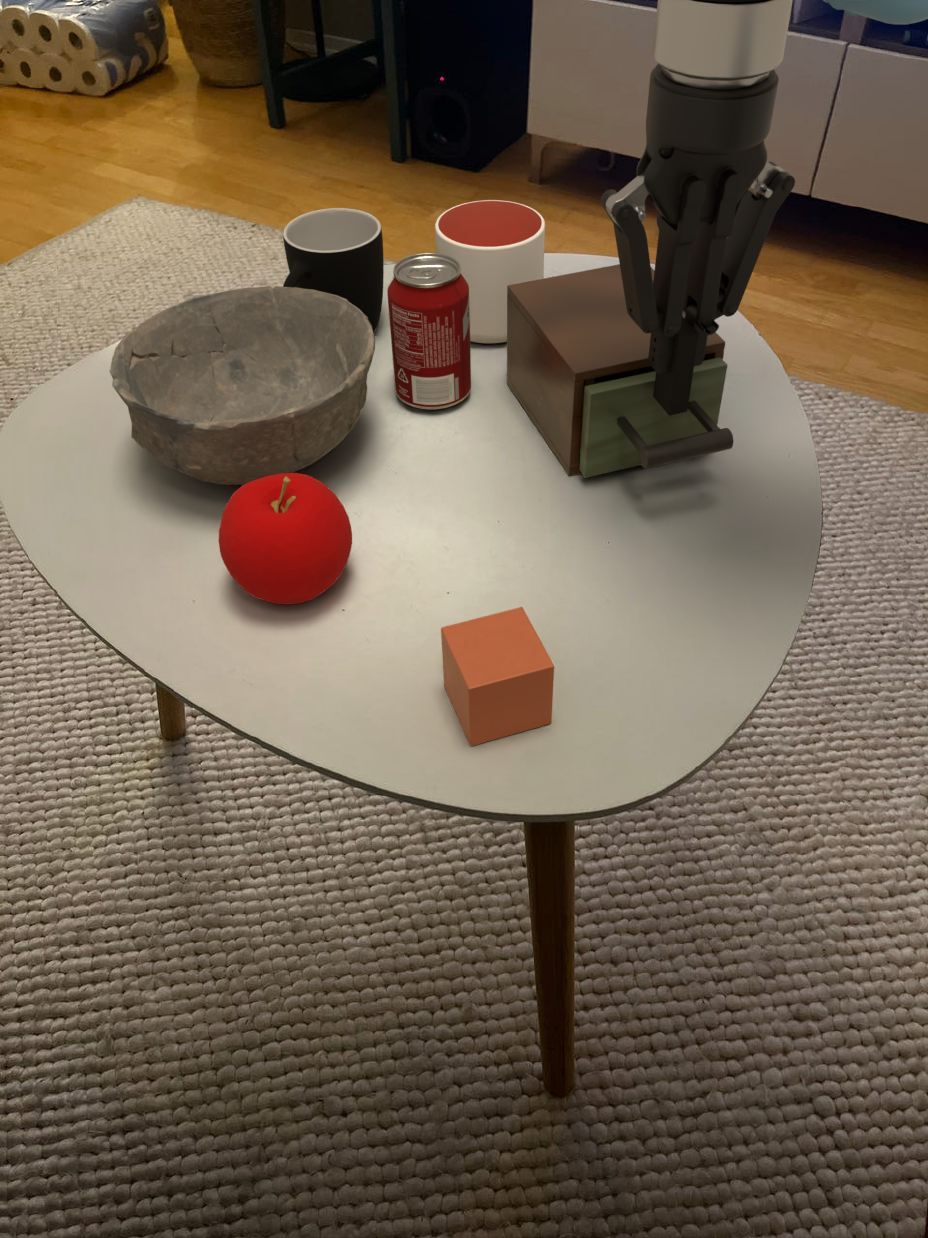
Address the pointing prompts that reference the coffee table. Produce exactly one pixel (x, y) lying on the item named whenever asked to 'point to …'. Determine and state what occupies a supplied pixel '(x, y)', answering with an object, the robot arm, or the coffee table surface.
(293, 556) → the fruit
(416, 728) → the coffee table surface
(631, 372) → the drawer
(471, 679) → the block
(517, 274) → the cup
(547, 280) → the cabinet
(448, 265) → the soda can
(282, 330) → the bowl
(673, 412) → the robot arm
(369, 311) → the mug
